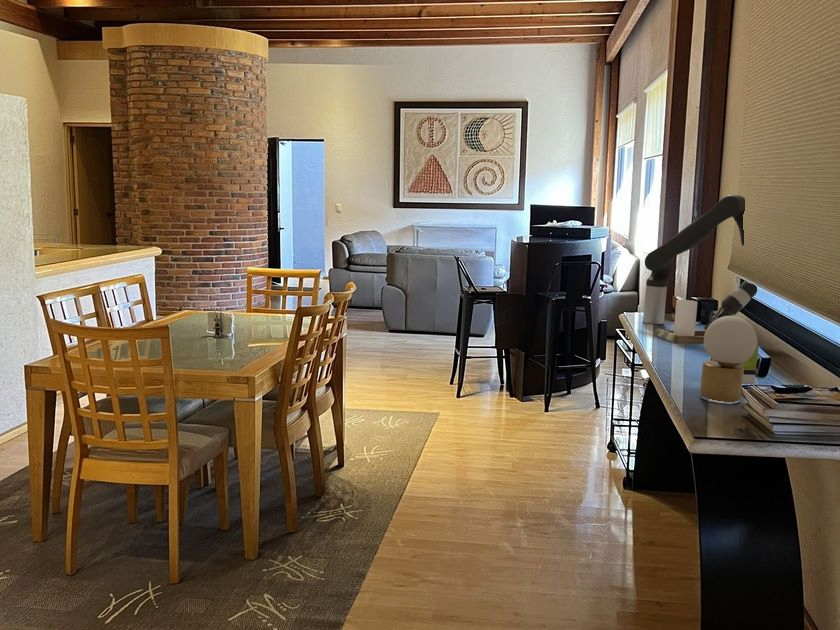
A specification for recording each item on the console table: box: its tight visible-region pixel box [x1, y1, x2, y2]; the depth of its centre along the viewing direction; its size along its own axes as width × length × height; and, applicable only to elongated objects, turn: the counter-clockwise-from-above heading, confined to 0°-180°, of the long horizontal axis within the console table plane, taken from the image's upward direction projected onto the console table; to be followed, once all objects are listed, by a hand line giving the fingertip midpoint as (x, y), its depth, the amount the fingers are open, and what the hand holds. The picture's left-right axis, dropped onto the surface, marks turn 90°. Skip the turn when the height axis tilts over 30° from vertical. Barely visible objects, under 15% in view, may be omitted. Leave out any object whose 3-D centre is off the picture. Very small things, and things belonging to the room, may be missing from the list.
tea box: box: [709, 340, 760, 385], centre depth 256 cm, size 15×10×15 cm
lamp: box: [699, 315, 758, 402], centre depth 227 cm, size 15×14×25 cm
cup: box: [673, 299, 698, 336], centre depth 326 cm, size 8×8×16 cm
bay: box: [656, 328, 706, 344], centre depth 328 cm, size 15×24×3 cm, turn 101°
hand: (706, 330), depth 329 cm, fingers closed
